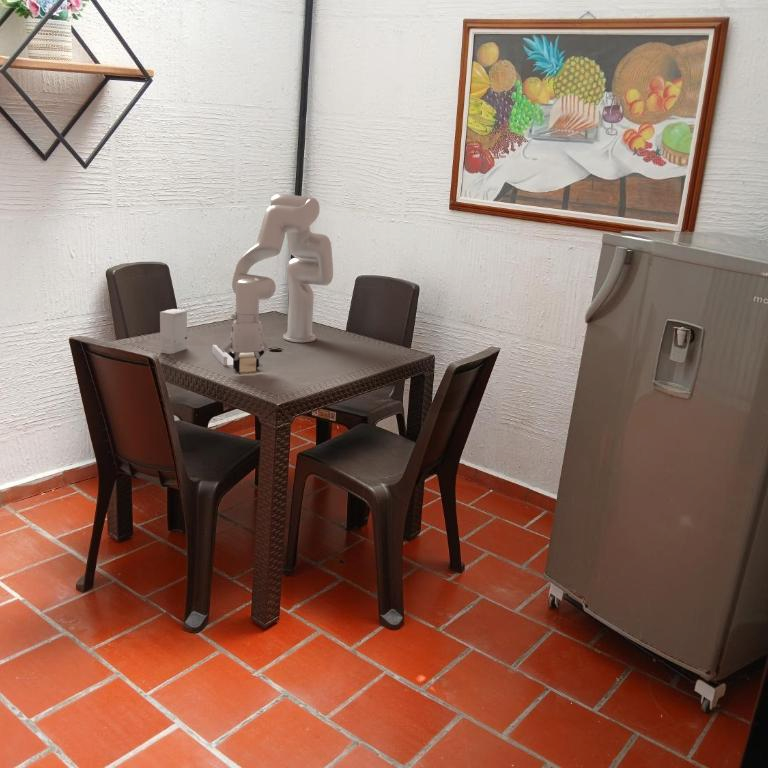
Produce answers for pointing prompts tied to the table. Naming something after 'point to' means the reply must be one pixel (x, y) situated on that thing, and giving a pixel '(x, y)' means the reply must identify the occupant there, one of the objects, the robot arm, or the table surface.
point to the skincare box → (173, 331)
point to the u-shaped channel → (223, 356)
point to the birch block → (247, 363)
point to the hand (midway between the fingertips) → (245, 369)
